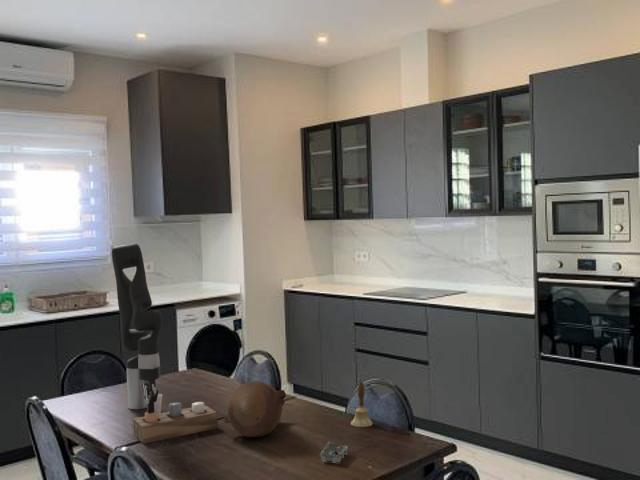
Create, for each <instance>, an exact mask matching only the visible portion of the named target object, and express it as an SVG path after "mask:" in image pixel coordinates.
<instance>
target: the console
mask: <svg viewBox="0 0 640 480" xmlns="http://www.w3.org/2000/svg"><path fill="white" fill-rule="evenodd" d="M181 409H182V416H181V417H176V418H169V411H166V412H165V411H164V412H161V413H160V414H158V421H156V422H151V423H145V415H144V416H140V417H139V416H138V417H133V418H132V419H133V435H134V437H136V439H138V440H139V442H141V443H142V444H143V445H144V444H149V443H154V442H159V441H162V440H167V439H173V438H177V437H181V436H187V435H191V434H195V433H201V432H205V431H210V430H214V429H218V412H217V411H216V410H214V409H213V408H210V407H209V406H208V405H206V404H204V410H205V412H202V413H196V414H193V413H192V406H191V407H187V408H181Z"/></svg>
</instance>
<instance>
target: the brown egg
mask: <svg viewBox="0 0 640 480" xmlns="http://www.w3.org/2000/svg"><path fill="white" fill-rule="evenodd" d="M144 416H145V423H151V422H156V421H158V411H154V413H148V412H147V411H145V412H144Z"/></svg>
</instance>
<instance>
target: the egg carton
mask: <svg viewBox="0 0 640 480" xmlns="http://www.w3.org/2000/svg"><path fill="white" fill-rule="evenodd" d="M348 446H349V445H342V444H339V446H337V444H336V443H334V442H331V440H329V441H328V442H327V443H326V444H325V447H323V449H322V450H321V452H320V453H319V456H320V461H321V460H322V461H323V462H326V463H328V462H327V461H332V462H331V463H336V462H340V461H341V462H342V459H341V458H344V459H345V456H344V455H346V456H347V455H348ZM335 452H337V453H338V454H337V453H335ZM336 454H337V455H336ZM322 461H321V462H322ZM323 462H322V463H323ZM341 462H340V463H341ZM336 464H337V463H336Z"/></svg>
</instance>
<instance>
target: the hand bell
mask: <svg viewBox="0 0 640 480" xmlns="http://www.w3.org/2000/svg"><path fill="white" fill-rule="evenodd" d="M365 392H366V391H365V384H364V382H363V381H359V382H358V386H357V394H358V395H357V396H358V399H359V402H358V405H359V406H358V407H357V408H356V409H355V413H354V418H353V420H351V421H350V425H351V426H353V427H355V428H369V427H371V426H373V421H372V420H371V419H370V417H369V416H370V415H369V413H368V409H367V408H365V405H364V403H365V402H364V396H365V394H366V393H365Z"/></svg>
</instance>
